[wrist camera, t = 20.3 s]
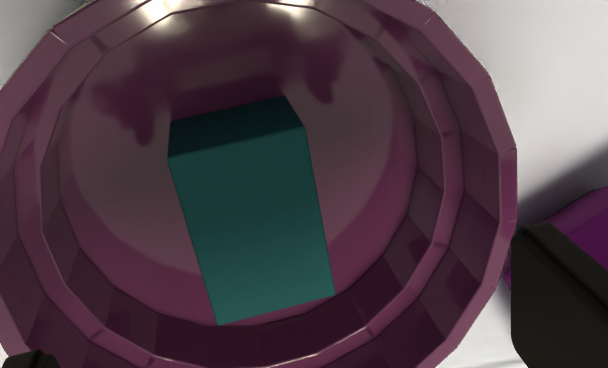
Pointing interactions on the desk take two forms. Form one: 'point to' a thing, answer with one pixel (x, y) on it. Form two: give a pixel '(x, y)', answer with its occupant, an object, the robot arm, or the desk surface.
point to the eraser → (251, 208)
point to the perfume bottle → (581, 227)
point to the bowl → (326, 166)
